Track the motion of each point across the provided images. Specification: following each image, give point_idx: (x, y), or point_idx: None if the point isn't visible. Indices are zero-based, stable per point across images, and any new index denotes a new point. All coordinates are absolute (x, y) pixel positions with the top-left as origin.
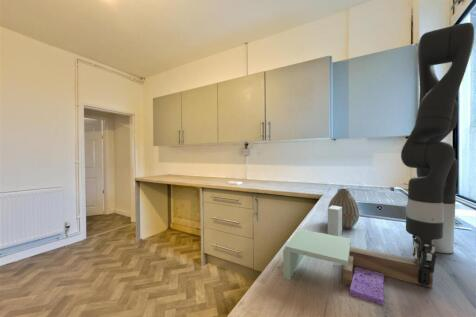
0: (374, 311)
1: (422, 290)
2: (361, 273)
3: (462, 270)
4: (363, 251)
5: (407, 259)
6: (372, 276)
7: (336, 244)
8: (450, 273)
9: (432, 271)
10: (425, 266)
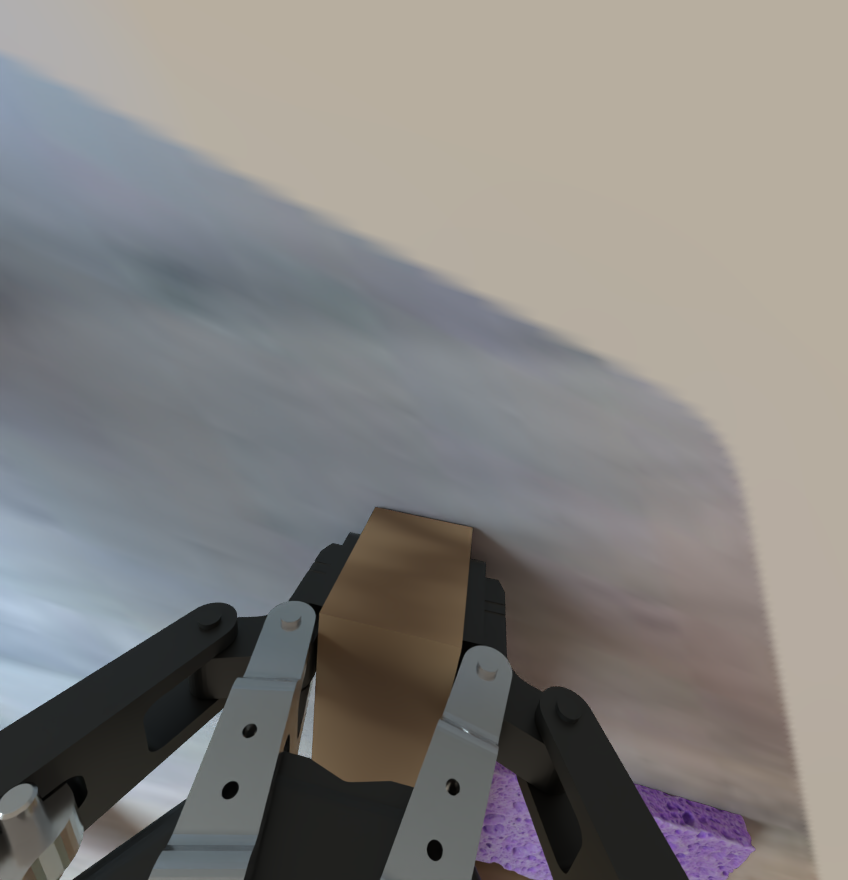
0: (807, 862)
1: (526, 593)
2: (496, 845)
3: (19, 135)
4: None
5: (343, 746)
6: (508, 810)
7: None
8: (154, 284)
9: (593, 728)
10: (516, 752)
